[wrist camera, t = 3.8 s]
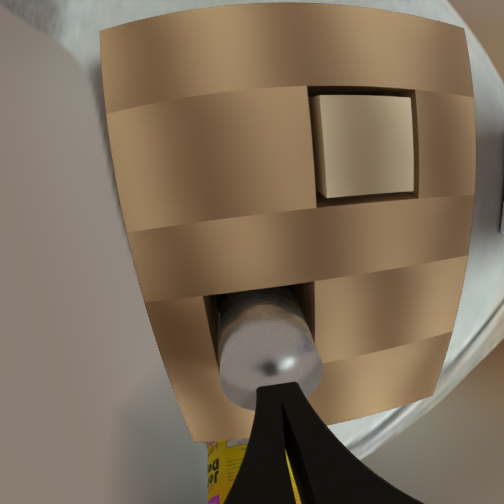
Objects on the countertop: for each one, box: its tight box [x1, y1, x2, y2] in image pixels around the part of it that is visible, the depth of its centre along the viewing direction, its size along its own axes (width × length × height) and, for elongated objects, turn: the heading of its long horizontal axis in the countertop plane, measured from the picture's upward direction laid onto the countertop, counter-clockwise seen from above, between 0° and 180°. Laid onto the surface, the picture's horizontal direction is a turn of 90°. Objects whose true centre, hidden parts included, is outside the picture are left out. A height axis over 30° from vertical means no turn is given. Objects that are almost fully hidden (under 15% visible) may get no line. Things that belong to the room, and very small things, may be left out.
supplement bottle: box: [208, 438, 301, 504], centre depth 18 cm, size 7×7×13 cm
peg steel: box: [220, 285, 323, 411], centre depth 14 cm, size 4×4×5 cm
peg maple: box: [308, 95, 414, 198], centre depth 14 cm, size 4×4×5 cm
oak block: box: [100, 3, 476, 442], centre depth 16 cm, size 16×22×5 cm
